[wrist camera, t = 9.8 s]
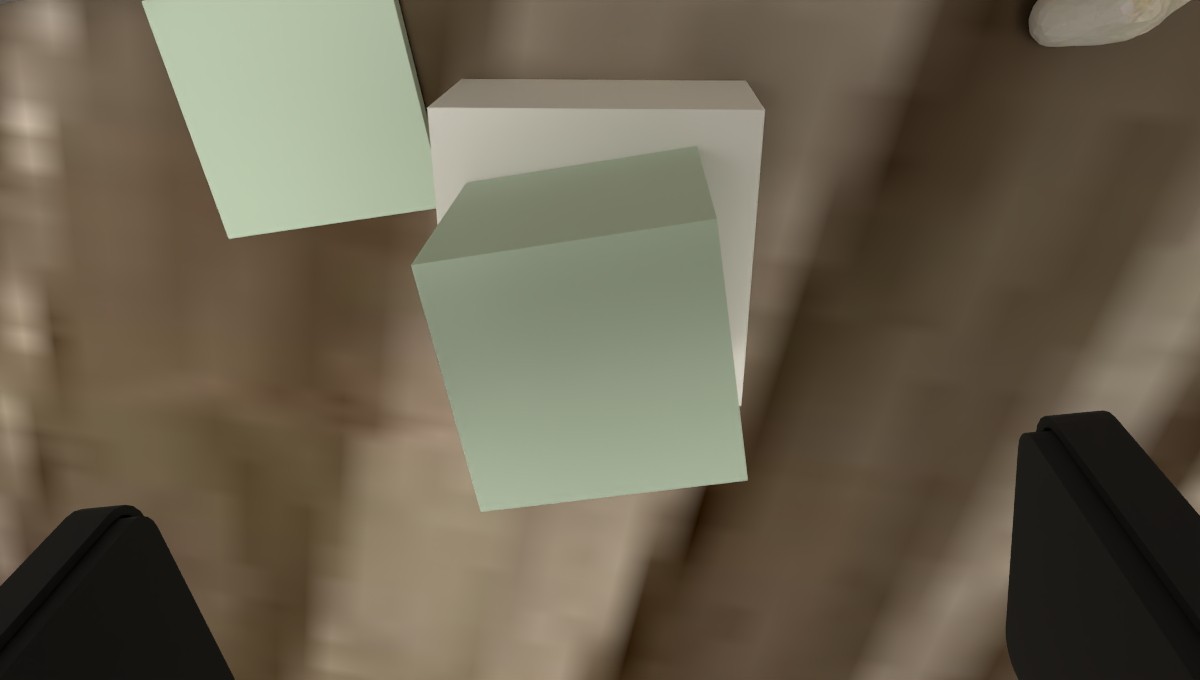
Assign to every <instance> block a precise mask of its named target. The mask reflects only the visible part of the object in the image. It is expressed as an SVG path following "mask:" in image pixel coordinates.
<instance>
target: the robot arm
mask: <svg viewBox="0 0 1200 680" xmlns="http://www.w3.org/2000/svg"><path fill="white" fill-rule="evenodd" d="M1006 641H1007V647H1008V652H1009V656H1010V660H1011V663H1012V665H1013V668H1014V671H1015V673H1016V675H1017V677H1018V680H1200V516H1199V514H1198V513H1197V512H1196V511H1195V510H1194V509H1193V507H1192V506H1191V505H1190V504H1189V503H1188V502H1187V500H1186V499H1185V498H1184V497H1183V496H1182V495H1181V493H1180V492H1179V491H1178V490H1177V489H1176V488H1175V486H1174V485H1173V484H1172V483H1171V482H1170V481H1169V479H1168V478H1167V477H1166V476H1165V475H1164V474H1163V472H1162V471H1161V470H1160V469H1159V468H1158V467H1157V465H1156V464H1155V463H1154V462H1153V461H1152V460H1151V458H1150V457H1149V456H1148V455H1147V454H1146V452H1145V451H1144V450H1143V449H1142V448H1141V447H1140V445H1139V444H1138V443H1137V442H1136V441H1135V440H1134V438H1133V437H1132V436H1131V435H1130V434H1129V433H1128V431H1127V430H1126V429H1125V428H1124V427H1123V426H1122V424H1121V423H1120V422H1119V421H1118V420H1117V419H1116V417H1114V416H1113V415H1112V414H1111V413H1110V412H1107V411H1093V412H1083V413H1072V414H1062V415H1052V416H1044V417H1043V418H1041V419H1040V421H1039V423H1038V425H1037V430H1036V432H1030V433H1024V434H1022V435H1021V437H1020V439H1019V445H1018V458H1017V472H1016V487H1015V501H1014V516H1013V530H1012V545H1011V559H1010V574H1009V589H1008V603H1007V618H1006ZM0 680H235V679H234V677H233V675H232V673H231V671H230V669H229V667H228V665H227V663H226V661H225V659H224V657H223V655H222V653H221V651H220V649H219V647H218V645H217V643H216V641H215V639H214V637H213V635H212V634H211V632H210V630H209V628H208V626H207V624H206V622H205V620H204V618H203V616H202V614H201V612H200V610H199V608H198V606H197V604H196V602H195V600H194V598H193V596H192V594H191V592H190V590H189V588H188V586H187V584H186V582H185V580H184V578H183V576H182V574H181V572H180V570H179V568H178V566H177V564H176V562H175V560H174V558H173V557H172V555H171V553H170V551H169V549H168V547H167V545H166V543H165V541H164V539H163V537H162V535H161V533H160V531H159V529H158V527H157V525H156V524H155V523H154V521H153V520H151V519H150V518H149V517H144V516H143V514H142V513H141V511H139V510H138V509H136V508H135V507H134V506H129V505H120V506H109V507H99V508H88V509H81V510H78V511H74V512H73V513H72V514H70V515H69V516H68V517H66V518H65V519H64V520H63V521H62V522H61V524H60V525H59V526H58V527H57V528H56V529H55V530H54V531H53V532H52V533H51V534H50V535H49V536H48V537H47V538H46V539H45V540H44V541H43V542H42V543H41V544H40V545H39V547H38V548H37V549H36V550H35V551H34V552H33V553H32V554H31V555H30V556H29V557H28V558H27V559H26V560H25V561H24V562H23V563H22V564H21V565H20V566H19V567H18V568H17V570H16V571H15V572H14V573H13V574H12V575H11V576H10V577H9V578H8V579H7V580H6V581H5V582H4V583H3V584H2V585H1V586H0Z"/></svg>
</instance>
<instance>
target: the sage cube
mask: <svg viewBox="0 0 1200 680" xmlns="http://www.w3.org/2000/svg"><path fill="white" fill-rule="evenodd" d="M411 267H412V271H413V274H414V278H415V281H416V285H417V289H418V292H419V296H420V299H421V303H422V306H423V310H424V313H425V317H426V320H427V324H428V327H429V331H430V334H431V338H432V341H433V345H434V348H435V352H436V355H437V359H438V363H439V366H440V370H441V373H442V377H443V380H444V384H445V387H446V391H447V394H448V398H449V401H450V405H451V408H452V412H453V415H454V419H455V422H456V426H457V430H458V433H459V437H460V440H461V444H462V447H463V451H464V454H465V458H466V461H467V465H468V468H469V472H470V475H471V479H472V482H473V486H474V489H475V493H476V497H477V500H478V504H479V507H480V511H481V512H485V511H493V510H502V509H510V508H519V507H527V506H536V505H544V504H552V503H561V502H569V501H578V500H586V499H595V498H603V497H611V496H620V495H628V494H637V493H645V492H654V491H662V490H671V489H679V488H687V487H696V486H704V485H713V484H721V483H730V482H738V481H747V480H748V478H747V469H746V461H745V452H744V444H743V436H742V427H741V419H740V410H739V402H738V393H737V385H736V376H735V368H734V359H733V351H732V342H731V334H730V325H729V317H728V308H727V300H726V291H725V283H724V274H723V266H722V257H721V249H720V240H719V232H718V223H717V217H716V213H715V210H714V206H713V203H712V199H711V195H710V192H709V188H708V185H707V181H706V177H705V174H704V170H703V167H702V163H701V159H700V156H699V152H698V148H697V146H692V147H686V148H680V149H674V150H667V151H661V152H655V153H649V154H643V155H636V156H630V157H624V158H618V159H612V160H605V161H599V162H593V163H587V164H581V165H575V166H568V167H562V168H556V169H550V170H544V171H537V172H531V173H525V174H519V175H513V176H506V177H500V178H494V179H488V180H482V181H475V182H469V183H466V184H465V185H464V187H463V188H462V190H461V191H460V193H459V194H458V196H457V197H456V199H455V200H454V202H453V203H452V205H451V206H450V208H449V209H448V211H447V212H446V214H445V215H444V217H443V218H442V220H441V221H440V223H439V224H438V226H437V227H436V229H435V230H434V231H433V233H432V234H431V236H430V237H429V239H428V240H427V242H426V243H425V245H424V246H423V248H422V249H421V251H420V252H419V254H418V255H417V257H416V258H415V260H414V261H413V263H412V264H411Z"/></svg>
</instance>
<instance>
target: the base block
mask: <svg viewBox="0 0 1200 680" xmlns="http://www.w3.org/2000/svg"><path fill="white" fill-rule="evenodd" d="M427 111H428V122H429V133H430V145H431V156H432V167H433V178H434V190H435V201H436V212H437V224H439V223H440V221H441V220H442V218H443V217H444V215H445V214H446V212H447V211H448V209H449V208H450V206H451V205H452V203H453V202H454V200H455V199H456V197H457V196H458V194H459V193H460V191H461V190H462V188H463V187H464V185H465V184H466V183H469V182H475V181H482V180H488V179H494V178H500V177H506V176H513V175H519V174H525V173H531V172H537V171H544V170H550V169H556V168H562V167H568V166H575V165H581V164H587V163H593V162H599V161H605V160H612V159H618V158H624V157H630V156H636V155H643V154H649V153H655V152H661V151H667V150H674V149H680V148H686V147H692V146H697V148H698V152H699V156H700V159H701V163H702V167H703V170H704V174H705V177H706V181H707V185H708V188H709V192H710V195H711V199H712V203H713V206H714V210H715V213H716V217H717V223H718V232H719V240H720V249H721V257H722V266H723V274H724V283H725V291H726V300H727V308H728V317H729V325H730V334H731V342H732V351H733V359H734V368H735V376H736V385H737V393H738V402H739V406H741V403H742V390H743V378H744V365H745V353H746V340H747V328H748V316H749V303H750V291H751V278H752V266H753V253H754V241H755V229H756V216H757V204H758V191H759V179H760V166H761V154H762V142H763V129H764V117H765V109H764V107H763V106H762V104H761V103H760V101H759V100H758V98H757V97H756V95H755V94H754V92H753V91H752V89H751V87H750V86H749V84H748V83H747V81H731V80H555V79H461V80H460V81H459V82H457V83H456V84H455V85H454V86H453V87H451V88H450V89H449V90H448V91H447V92H445V93H444V94H443V95H442V96H441V97H439V98H438V99H437V100H436V101H434V102H433V103H432V104H431V105H430V106H428V107H427Z"/></svg>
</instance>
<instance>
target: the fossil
mask: <svg viewBox="0 0 1200 680" xmlns="http://www.w3.org/2000/svg"><path fill="white" fill-rule="evenodd" d="M1189 1H1191V0H1037V2H1036V3H1035V5H1034V6H1033V9H1032V11H1031V14H1030V17H1029V32H1030V34H1031V36H1032V38H1034V39H1035V40H1036V41H1037V42H1038V43H1039V44H1041V45H1044V46H1047V47H1065V46H1090V45H1103V44H1109V43H1115V42H1121V41H1127V40H1129V39H1132V38H1134V37H1136V36H1138V35H1141V34H1144V33H1147V32H1148V31H1150V30H1151V29H1153V28H1154V27H1156V26H1157V25H1159V24H1160V23H1161V22H1162V21H1163V20H1164V19H1165V18H1166V17H1167V16H1169V15H1170V14H1171V13H1172V12H1174V11H1175V10H1177V9H1178V8H1180V7H1181V6H1183V5H1184V4H1186V3H1187V2H1189Z"/></svg>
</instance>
